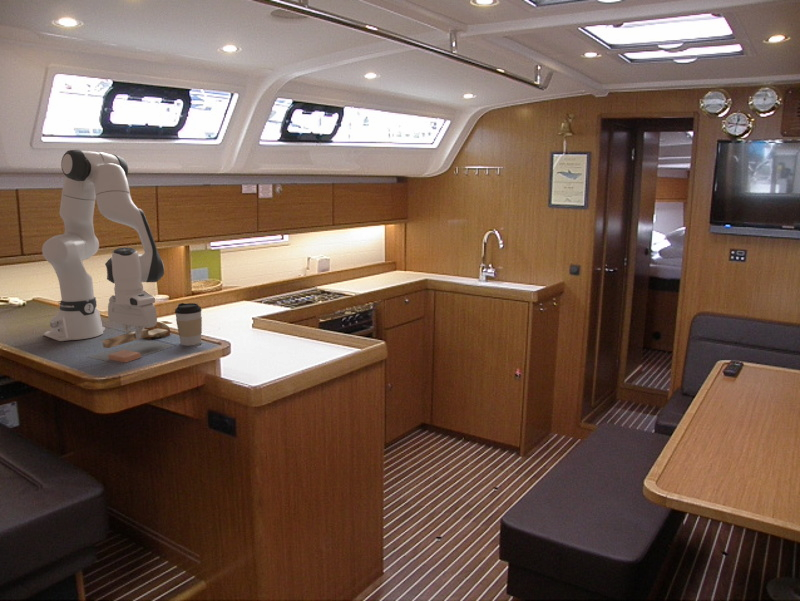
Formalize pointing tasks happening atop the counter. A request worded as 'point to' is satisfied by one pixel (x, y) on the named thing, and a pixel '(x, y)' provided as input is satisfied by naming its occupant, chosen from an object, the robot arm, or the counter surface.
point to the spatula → (131, 337)
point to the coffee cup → (189, 323)
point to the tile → (124, 356)
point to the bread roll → (159, 326)
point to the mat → (134, 350)
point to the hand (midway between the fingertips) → (134, 337)
